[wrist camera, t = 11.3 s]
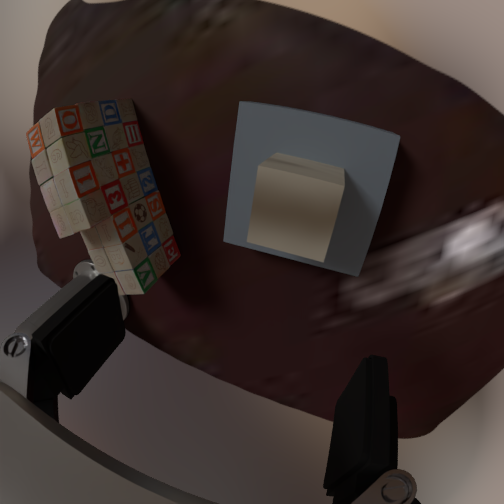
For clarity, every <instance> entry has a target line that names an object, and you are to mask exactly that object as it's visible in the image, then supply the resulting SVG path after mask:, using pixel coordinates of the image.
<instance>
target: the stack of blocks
mask: <svg viewBox="0 0 504 504" xmlns="http://www.w3.org/2000/svg"><path fill="white" fill-rule="evenodd" d="M26 136H27V140H28V144H29V148H30V152H31V156H32V158H33V159H32V164H33V168H34V171H35V175H36V178H37V181H38V184H39V185H40V186H41V187H40V188H41V192H42V194H43V197H44V200H45V203H46V205H47V208H48V211H49V212H50V215H51V218H52V221H53V223H54V226H55V228H56V230H57V233H58V235H59V238H60V239H61V238H63V237H66V236H69V235H72V234H75V233H77V232H79V231H80V233H81V235H82V237H83V240H84V242H85V244H86V247H87V249H88V252H89V254H90V257H91V259H92V261H93V263H94V266H95V268H96V270H97V272H98V274H103V275H106V276H108V277H111V278H113V279H114V280H115V283H116V284H117V286H118V293H119V295H126V294H127V295H128V294H145V293H146V292H147V291H148V290H149V289H150V288H151V286H152V285H153V284H154V283H155V282H156V281H157V280H158V278H159V277H160V276H161V275H162V274H163V273H164V272H165V271H166V270H167V269H169V267H170V266H171V265H172V264H173V263H174V262H175V261H176V260H177V259H178V258H179V257H180V256H181V254H180V252H179V249H178V246H177V244H176V241H175V239H174V236H173V231H172V228H171V225H170V222H169V219H168V217H167V214H166V211H165V208H164V205H163V202H162V199H161V196H160V192H159V190H158V188H157V185H156V182H155V179H154V176H153V172H152V169H151V167H150V163H149V160H148V157H147V154H146V150H145V147H144V142H143V139H142V135H141V132H140V128H139V125H138V121H137V117H136V113H135V109H134V106H133V102H132V99H118V100H107V101H98V102H97V101H91V102H82V103H77V104H75V105H71V106H64V107H58V108H54V109H52V110H51V111H50V112H49V113H48V114H47V115H45V116H44V117H43V118H42V119H40V120H39V122H38V123H36V124H35V125H34V126H33V127H32V128H31V129H30V130H29V131H28V132H27V133H26Z"/></svg>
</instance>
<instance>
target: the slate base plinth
mask: <svg viewBox="0 0 504 504" xmlns="http://www.w3.org/2000/svg"><path fill="white" fill-rule="evenodd" d="M399 141H400V136H399V135H397V134H395V133H393V132H389V131H386V130H383V129H379V128H376V127H372V126H369V125H365V124H362V123H358V122H354V121H350V120H346V119H342V118H338V117H334V116H329V115H325V114H320V113H316V112H311V111H306V110H301V109H295V108H290V107H284V106H278V105H272V104H265V103H258V102H244V101H240V103H239V110H238V118H237V126H236V133H235V142H234V150H233V158H232V167H231V175H230V184H229V193H228V202H227V212H226V221H225V231H224V242H227V243H231V244H235V245H239V246H243V247H246V248H250V249H254V250H258V251H262V252H266V253H269V254H273V255H277V256H281V257H285V258H288V259H292V260H296V261H300V262H304V263H307V264H311V265H315V266H319V267H323V268H326V269H330V270H334V271H338V272H342V273H345V274H349V275H353V276H357V277H358V276H359V274H360V271H361V268H362V265H363V263H364V260H365V257H366V254H367V251H368V248H369V245H370V242H371V239H372V236H373V233H374V230H375V227H376V224H377V221H378V218H379V215H380V211H381V208H382V205H383V201H384V198H385V195H386V191H387V187H388V184H389V180H390V177H391V173H392V169H393V165H394V161H395V157H396V153H397V149H398V145H399ZM275 153H281V154H286V155H290V156H295V157H299V158H304V159H308V160H312V161H316V162H320V163H325V164H328V165H332V166H336V167H340V168H344V178H345V187H344V191H343V195H342V199H341V203H340V206H339V210H338V214H337V218H336V221H335V225H334V228H333V232H332V235H331V239H330V242H329V246H328V249H327V253H326V256H325V259H324V262H320V261H316V260H313V259H309V258H305V257H301V256H298V255H294V254H290V253H287V252H283V251H279V250H275V249H272V248H268V247H264V246H260V245H257V244H253V243H249V242H247V236H248V229H249V223H250V216H251V210H252V203H253V196H254V190H255V183H256V177H257V170H258V165H260V164H261V163H262V162H264V161H265V160H266V159H268V158H269V157H271V156H272V155H273V154H275Z"/></svg>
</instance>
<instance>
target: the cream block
mask: <svg viewBox="0 0 504 504" xmlns="http://www.w3.org/2000/svg"><path fill="white" fill-rule="evenodd" d="M344 187H345V178H344V168H340V167H336V166H332V165H328V164H325V163H320V162H316V161H312V160H308V159H304V158H299V157H295V156H290V155H286V154H281V153H275V154H273V155H272V156H271V157H269V158H268V159H266V160H265V161H264V162H262V163H261V164H260V165H258V170H257V177H256V183H255V190H254V196H253V203H252V210H251V216H250V223H249V229H248V236H247V242H249V243H253V244H257V245H260V246H264V247H268V248H272V249H275V250H279V251H283V252H287V253H290V254H294V255H298V256H301V257H305V258H309V259H313V260H316V261H320V262H324V259H325V256H326V253H327V249H328V246H329V242H330V239H331V235H332V232H333V228H334V225H335V221H336V218H337V214H338V210H339V206H340V203H341V199H342V195H343V191H344Z"/></svg>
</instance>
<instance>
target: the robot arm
mask: <svg viewBox="0 0 504 504" xmlns="http://www.w3.org/2000/svg"><path fill="white" fill-rule="evenodd" d="M73 278H74V279H73V280H72V281H71V282H69V283H68V284H67V285H66V286H64V287H63V288H62V289H61V290H60V291H58V292H57V293H56V294H55V295H54V296H52V297H51V298H50V299H49V300H48V301H46V302H45V303H44V304H43V305H42V306H41V307H40V308H38V309H37V310H36V311H35V312H34V313H33V314H31V315H30V316H29V317H28V318H27V319H26V320H25V321H24V322H23V323H21V324H20V325H19V326H18V328H17V329H16V330H15V332H14V333H13V334H11V335H9V336H8V337H6V338H5V339H4V341H3V342H2V344H1V347H0V504H218V503H215V502H212V501H209V500H206V499H203V498H201V497H198V496H195V495H192V494H190V493H187V492H184V491H182V490H179V489H177V488H174V487H172V486H170V485H167V484H165V483H163V482H160V481H158V480H156V479H154V478H152V477H149V476H147V475H145V474H143V473H141V472H139V471H137V470H135V469H133V468H131V467H129V466H127V465H125V464H124V463H122V462H120V461H118V460H116V459H114V458H113V457H111V456H109V455H107V454H106V453H104V452H102V451H100V450H99V449H97V448H96V447H94V446H92V445H91V444H89V443H87V442H86V441H84V440H83V439H81V438H80V437H78V436H77V435H75V434H74V433H72V432H71V431H69V430H68V429H66V428H65V427H64V426H62V425H61V424H59V417H58V394H59V393H60V392H61V393H62V394H63V395H65V396H66V397H68V398H70V399H72V398H73V397H74V395H78V394H79V393H80V392H81V391H82V390H83V388H84V387H85V386H86V384H87V383H88V382H89V381H90V380H91V378H92V377H93V376H94V374H95V373H96V372H97V371H98V370H99V368H100V367H101V366H102V365H103V364H104V362H105V361H106V360H107V359H108V357H109V356H110V355H111V354H112V353H113V351H114V350H115V349H116V348H117V347H118V345H119V344H120V343H121V342H122V341H123V339H124V337H125V327H124V321H123V320H124V319H125V318H126V317H127V316H128V313H129V301H128V298H127V294H126V295H119V293H118V286H117V284H116V283H115V280H114V279H113V278H111V277H108V276H106V275H103V274H98V272H97V270H96V268H95V266H94V263H93V261H92V260H84V261H81V262H80V263H79V264H77V266H76V267H75V269H74V274H73ZM397 459H398V422H397V402H396V398H395V397H393V396H389V380H388V364H387V359H386V358H385V357H380V356H375V355H370V356H369V357H368V358H363V360H362V361H361V363H360V365H359V367H358V368H357V370H356V372H355V373H354V375H353V377H352V378H351V380H350V382H349V383H348V385H347V386H346V388H345V390H344V391H343V393H342V394H341V396H340V398H339V399H338V401H337V404H336V407H335V414H334V422H333V430H332V437H331V443H330V450H329V456H328V462H327V467H326V473H325V478H324V484H323V487H324V489H327V493H326V495H327V496H334V498H333V503H332V504H421V503H420V502H419V501H418V500H417V499H416V498H415V495H416V492H417V485H416V482H415V479H414V478H413V477H412V475H411V474H410V473H408V472H406V471H404V470H400V469H397V465H398V460H397Z"/></svg>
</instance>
